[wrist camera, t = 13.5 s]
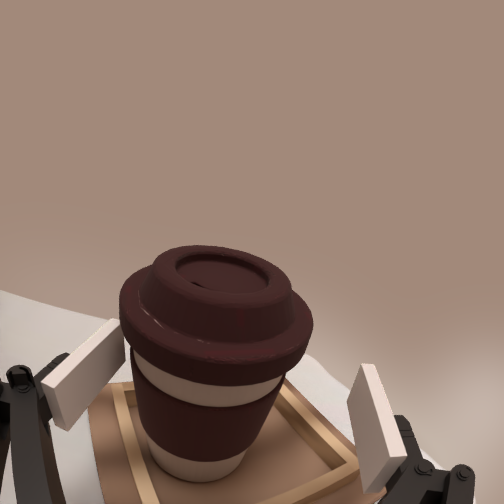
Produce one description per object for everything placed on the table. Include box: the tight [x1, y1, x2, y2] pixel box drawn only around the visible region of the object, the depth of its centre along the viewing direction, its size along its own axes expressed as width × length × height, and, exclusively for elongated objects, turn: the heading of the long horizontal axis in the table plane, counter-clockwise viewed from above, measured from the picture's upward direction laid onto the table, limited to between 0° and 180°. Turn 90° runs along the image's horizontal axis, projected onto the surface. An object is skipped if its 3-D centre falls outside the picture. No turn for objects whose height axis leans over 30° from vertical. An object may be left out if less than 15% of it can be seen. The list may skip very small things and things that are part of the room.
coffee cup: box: [119, 245, 313, 482], centre depth 17 cm, size 10×10×15 cm
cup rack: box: [88, 378, 387, 504], centre depth 20 cm, size 20×20×4 cm
